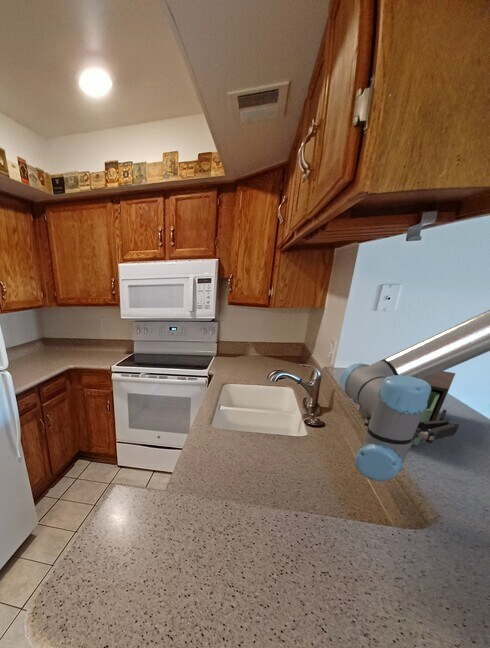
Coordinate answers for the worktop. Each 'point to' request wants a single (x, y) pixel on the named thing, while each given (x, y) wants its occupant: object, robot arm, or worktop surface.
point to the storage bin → (428, 410)
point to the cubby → (439, 389)
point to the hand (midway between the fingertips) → (410, 407)
